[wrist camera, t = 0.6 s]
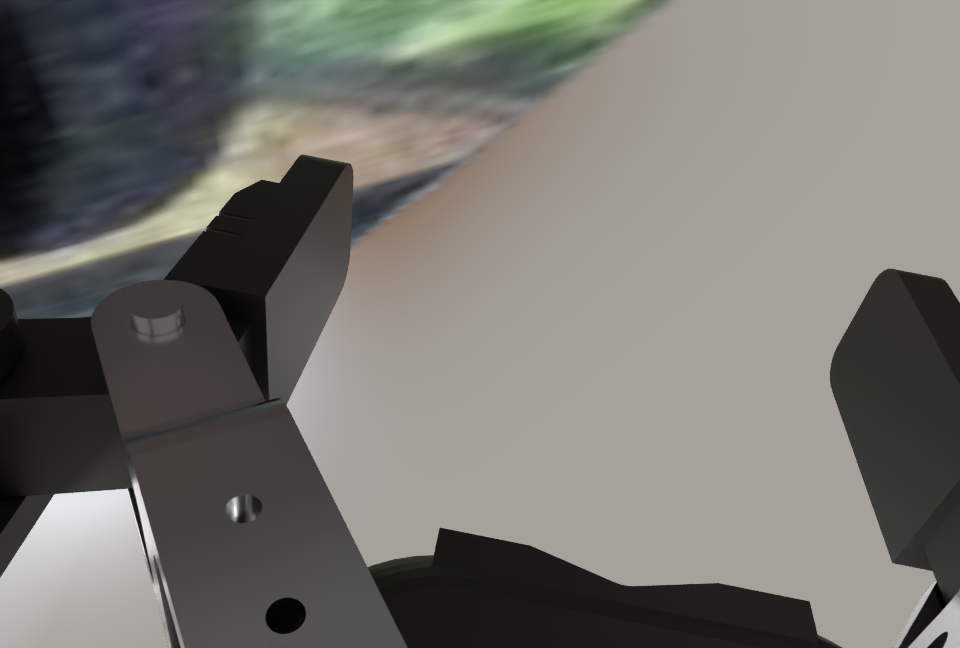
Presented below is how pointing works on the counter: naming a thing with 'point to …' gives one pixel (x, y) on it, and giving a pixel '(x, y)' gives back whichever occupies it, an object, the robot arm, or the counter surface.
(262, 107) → the counter surface
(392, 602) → the robot arm
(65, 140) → the counter surface
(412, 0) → the counter surface
